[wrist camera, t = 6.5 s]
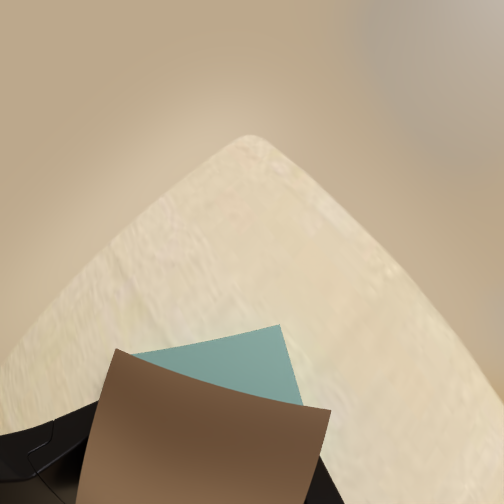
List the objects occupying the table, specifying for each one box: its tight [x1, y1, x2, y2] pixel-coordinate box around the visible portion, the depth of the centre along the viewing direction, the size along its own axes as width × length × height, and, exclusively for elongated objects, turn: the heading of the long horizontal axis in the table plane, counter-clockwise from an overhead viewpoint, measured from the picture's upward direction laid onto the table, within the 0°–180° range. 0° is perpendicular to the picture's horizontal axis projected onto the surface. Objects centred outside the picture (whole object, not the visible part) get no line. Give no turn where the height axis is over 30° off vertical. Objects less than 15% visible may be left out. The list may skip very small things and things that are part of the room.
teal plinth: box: [131, 324, 303, 406], centre depth 18 cm, size 12×12×3 cm
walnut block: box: [76, 349, 331, 504], centre depth 9 cm, size 5×5×10 cm
